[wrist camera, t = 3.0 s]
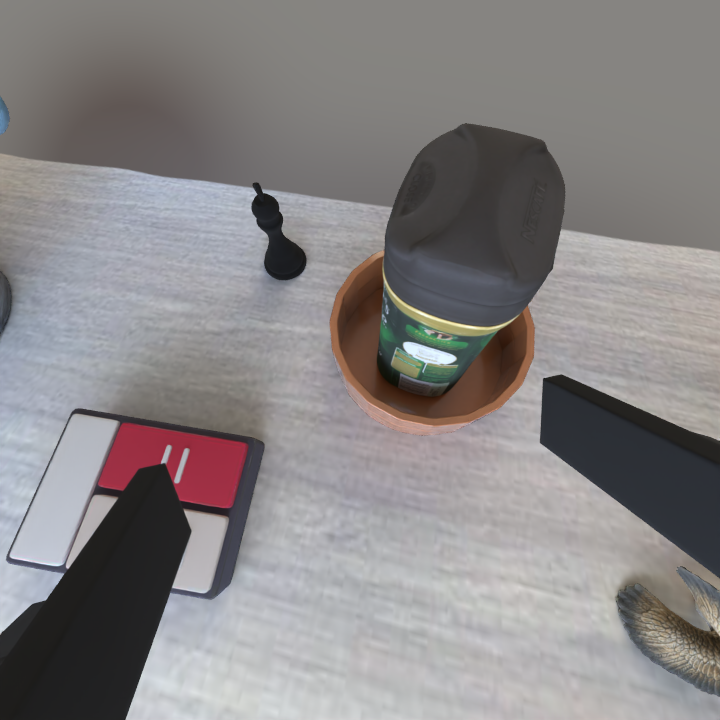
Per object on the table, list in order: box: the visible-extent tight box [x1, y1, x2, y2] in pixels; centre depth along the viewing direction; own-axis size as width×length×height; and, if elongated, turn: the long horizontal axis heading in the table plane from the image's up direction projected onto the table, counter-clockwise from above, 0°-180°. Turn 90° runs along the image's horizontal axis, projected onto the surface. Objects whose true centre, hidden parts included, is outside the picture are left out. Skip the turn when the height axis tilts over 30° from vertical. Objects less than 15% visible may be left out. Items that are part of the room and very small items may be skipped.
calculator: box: [6, 408, 264, 600], centre depth 26 cm, size 11×4×15 cm
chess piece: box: [252, 183, 306, 280], centre depth 31 cm, size 4×4×10 cm
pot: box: [330, 250, 535, 436], centre depth 29 cm, size 16×16×6 cm
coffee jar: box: [377, 123, 565, 397], centre depth 23 cm, size 10×8×19 cm
